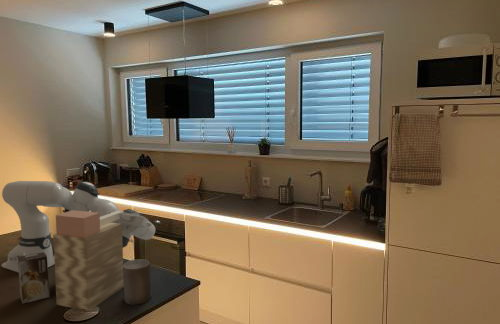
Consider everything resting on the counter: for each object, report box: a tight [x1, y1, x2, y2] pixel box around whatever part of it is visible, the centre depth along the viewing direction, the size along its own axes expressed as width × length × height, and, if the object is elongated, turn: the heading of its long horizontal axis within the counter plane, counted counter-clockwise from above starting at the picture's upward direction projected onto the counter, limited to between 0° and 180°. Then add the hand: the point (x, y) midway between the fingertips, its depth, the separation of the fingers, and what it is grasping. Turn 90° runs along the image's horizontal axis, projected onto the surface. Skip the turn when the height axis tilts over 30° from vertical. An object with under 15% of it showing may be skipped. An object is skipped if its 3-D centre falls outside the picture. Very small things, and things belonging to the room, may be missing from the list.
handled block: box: [55, 210, 124, 238], centre depth 144 cm, size 12×28×7 cm, turn 163°
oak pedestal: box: [52, 223, 124, 311], centre depth 142 cm, size 14×20×26 cm
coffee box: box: [18, 252, 51, 305], centre depth 140 cm, size 9×6×16 cm
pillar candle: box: [123, 258, 152, 306], centre depth 140 cm, size 10×10×15 cm
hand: (115, 214), depth 154 cm, fingers open, 5 cm apart
